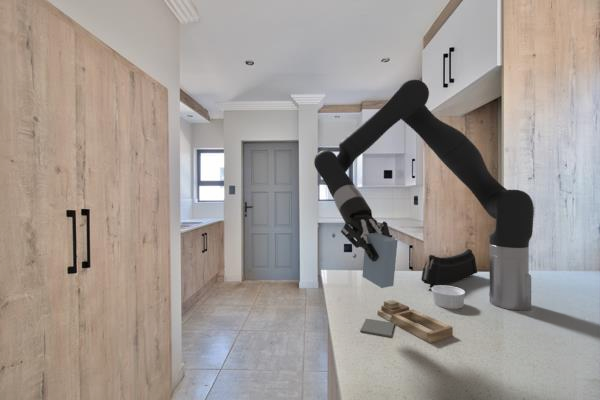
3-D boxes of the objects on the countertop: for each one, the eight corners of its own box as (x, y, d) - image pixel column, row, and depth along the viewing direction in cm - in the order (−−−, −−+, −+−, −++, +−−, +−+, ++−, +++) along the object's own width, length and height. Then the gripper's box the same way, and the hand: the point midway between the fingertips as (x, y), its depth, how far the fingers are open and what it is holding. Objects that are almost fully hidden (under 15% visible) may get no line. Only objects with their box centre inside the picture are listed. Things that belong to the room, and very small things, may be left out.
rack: (377, 314, 78) (376, 301, 78) (397, 309, 82) (397, 296, 82) (430, 343, 63) (430, 326, 63) (452, 335, 66) (452, 320, 66)
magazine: (472, 251, 117) (428, 235, 102) (480, 252, 115) (436, 236, 99) (465, 293, 115) (419, 284, 100) (474, 296, 112) (428, 287, 97)
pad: (394, 324, 72) (394, 323, 72) (391, 337, 66) (391, 335, 66) (366, 320, 75) (366, 318, 75) (360, 331, 69) (360, 330, 69)
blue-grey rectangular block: (362, 276, 73) (365, 233, 71) (373, 274, 74) (376, 232, 73) (381, 288, 67) (385, 241, 65) (393, 285, 68) (397, 240, 67)
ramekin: (460, 313, 79) (460, 297, 79) (427, 305, 85) (427, 290, 85) (468, 303, 86) (468, 289, 86) (436, 296, 92) (436, 283, 92)
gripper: (335, 195, 74) (366, 252, 63) (378, 195, 80) (413, 246, 69) (324, 215, 79) (351, 271, 68) (366, 213, 85) (397, 264, 74)
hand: (382, 258), depth 69 cm, fingers closed on blue-grey rectangular block, 3 cm apart
